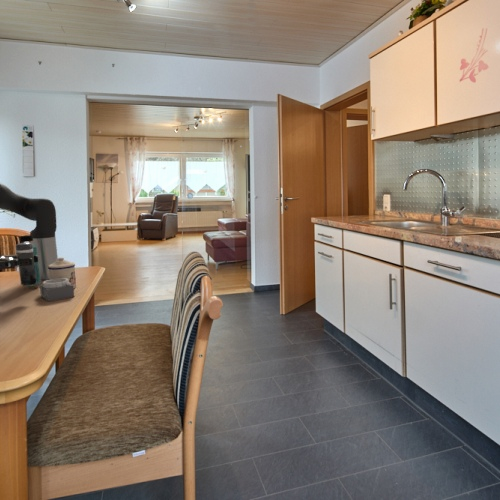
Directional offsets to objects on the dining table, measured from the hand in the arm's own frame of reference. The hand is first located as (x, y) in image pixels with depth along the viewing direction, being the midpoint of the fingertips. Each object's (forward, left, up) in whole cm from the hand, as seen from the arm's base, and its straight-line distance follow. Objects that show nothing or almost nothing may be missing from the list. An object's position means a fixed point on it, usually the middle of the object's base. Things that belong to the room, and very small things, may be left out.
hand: (35, 260), depth 127 cm
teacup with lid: (-13, +11, -14) cm, 22 cm away
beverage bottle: (-22, +2, -14) cm, 26 cm away
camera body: (-1, +6, -14) cm, 15 cm away
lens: (-1, -2, -8) cm, 8 cm away
